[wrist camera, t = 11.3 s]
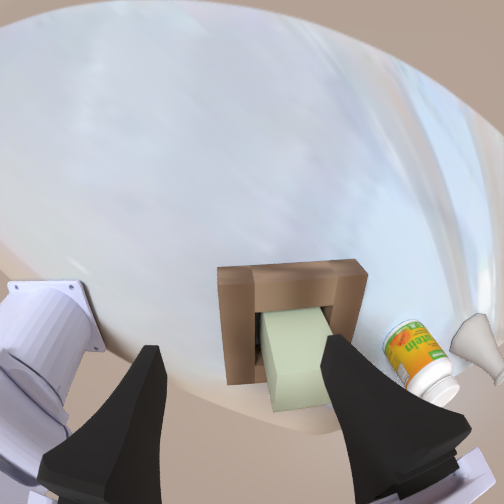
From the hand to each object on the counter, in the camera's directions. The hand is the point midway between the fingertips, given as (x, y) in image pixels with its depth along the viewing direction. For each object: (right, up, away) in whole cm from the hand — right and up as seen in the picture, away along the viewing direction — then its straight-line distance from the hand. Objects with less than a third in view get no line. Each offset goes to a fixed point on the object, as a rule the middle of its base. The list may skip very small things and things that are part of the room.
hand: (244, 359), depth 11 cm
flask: (+31, -7, +19) cm, 37 cm away
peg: (+3, -1, +13) cm, 13 cm away
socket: (+3, -1, +13) cm, 13 cm away
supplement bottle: (+17, -5, +16) cm, 24 cm away
